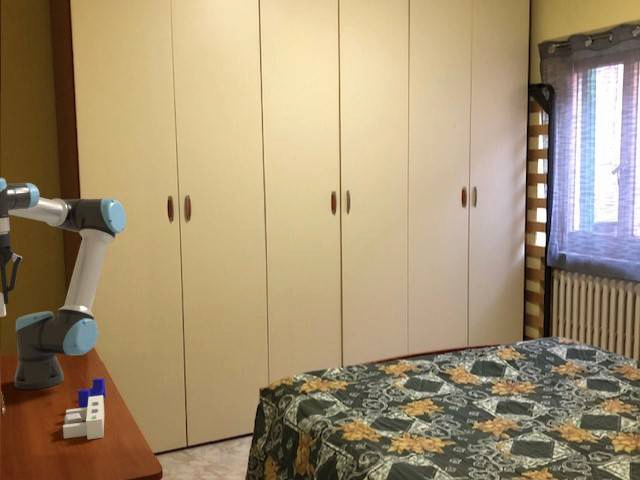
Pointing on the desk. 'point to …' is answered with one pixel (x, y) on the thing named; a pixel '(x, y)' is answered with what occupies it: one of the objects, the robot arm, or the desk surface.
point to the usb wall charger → (73, 418)
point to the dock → (87, 420)
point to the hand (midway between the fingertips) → (2, 315)
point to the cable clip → (92, 392)
